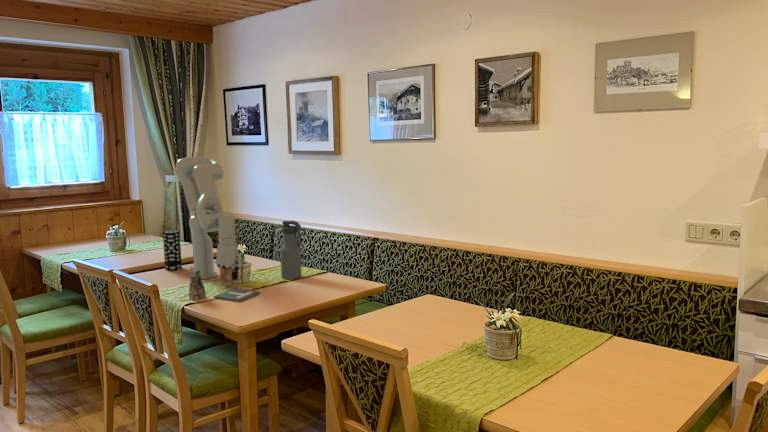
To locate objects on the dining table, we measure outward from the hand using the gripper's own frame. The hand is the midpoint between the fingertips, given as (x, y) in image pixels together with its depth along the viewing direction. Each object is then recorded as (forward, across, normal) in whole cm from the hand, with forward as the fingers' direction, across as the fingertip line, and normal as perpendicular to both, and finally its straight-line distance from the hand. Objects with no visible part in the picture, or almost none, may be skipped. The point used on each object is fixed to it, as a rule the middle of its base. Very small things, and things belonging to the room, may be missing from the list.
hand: (229, 278), depth 281 cm
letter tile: (+4, +14, -11) cm, 18 cm away
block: (+1, 0, 0) cm, 1 cm away
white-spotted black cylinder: (+3, -50, +14) cm, 52 cm away
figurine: (+4, 0, -21) cm, 21 cm away
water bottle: (+4, +17, +26) cm, 31 cm away
